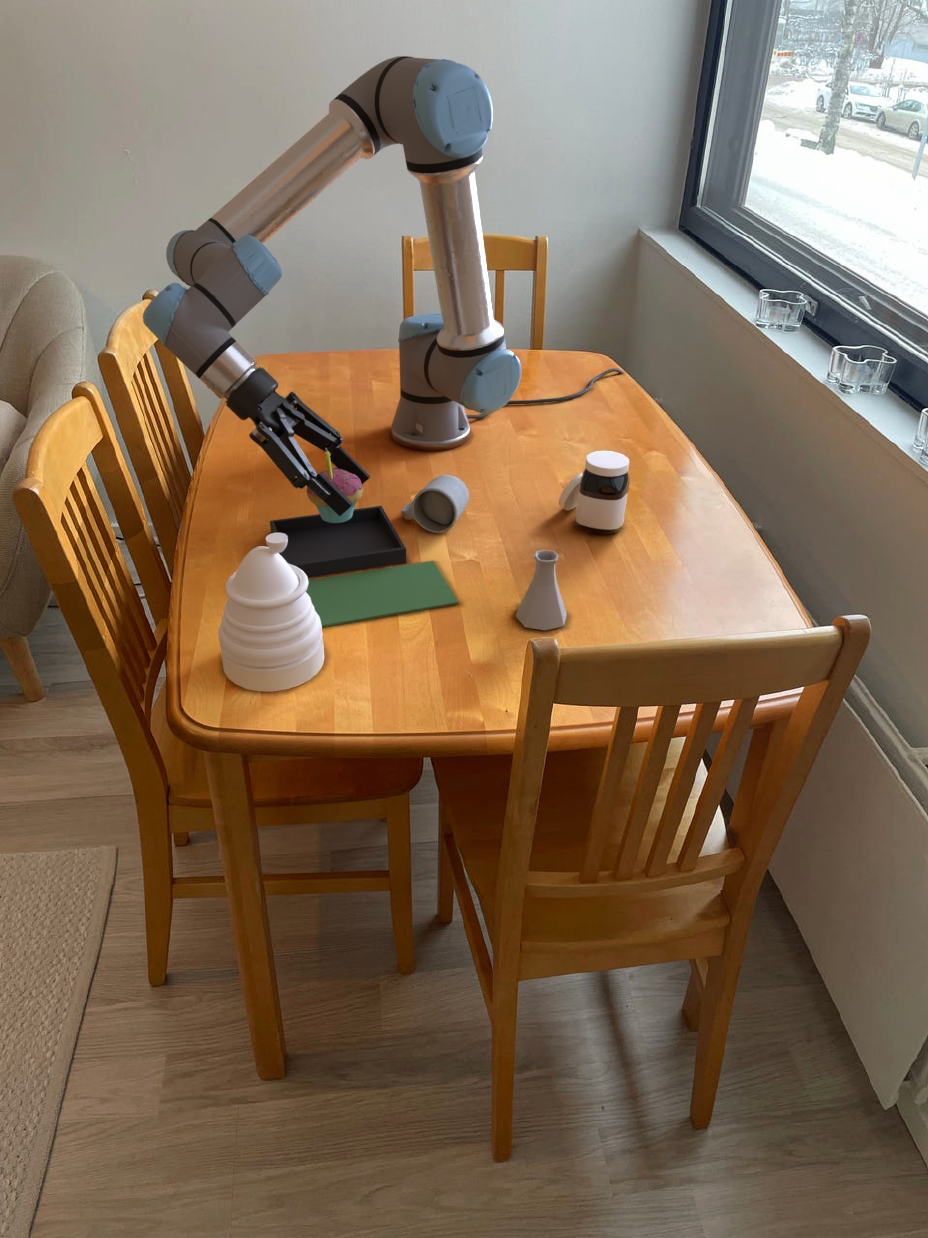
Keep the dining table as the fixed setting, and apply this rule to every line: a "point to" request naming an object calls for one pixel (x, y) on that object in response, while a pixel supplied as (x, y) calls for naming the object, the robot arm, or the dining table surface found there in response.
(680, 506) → the dining table surface
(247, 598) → the honey pot
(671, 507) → the dining table surface
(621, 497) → the spread jar
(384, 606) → the green cloth
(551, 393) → the dining table surface
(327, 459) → the cupcake
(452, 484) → the ceramic mug
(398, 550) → the baking pan
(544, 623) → the flask
